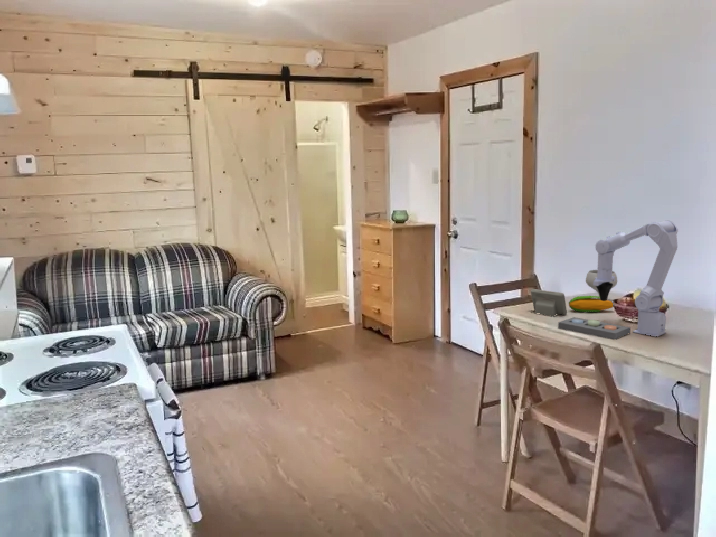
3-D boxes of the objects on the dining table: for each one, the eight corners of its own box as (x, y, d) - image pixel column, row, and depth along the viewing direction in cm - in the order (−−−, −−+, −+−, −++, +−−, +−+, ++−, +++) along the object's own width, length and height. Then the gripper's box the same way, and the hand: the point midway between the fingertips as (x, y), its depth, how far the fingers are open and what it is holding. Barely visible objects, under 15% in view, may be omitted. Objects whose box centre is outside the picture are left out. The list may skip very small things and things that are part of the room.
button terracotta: (618, 332, 242) (618, 326, 242) (612, 334, 239) (613, 328, 239) (607, 330, 245) (607, 324, 245) (602, 332, 243) (602, 326, 242)
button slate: (585, 326, 253) (585, 320, 252) (579, 328, 250) (579, 322, 249) (575, 324, 256) (575, 318, 255) (569, 326, 253) (569, 320, 253)
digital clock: (569, 315, 273) (570, 291, 272) (555, 318, 268) (556, 294, 267) (540, 309, 287) (540, 286, 285) (526, 311, 282) (527, 288, 280)
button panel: (630, 333, 243) (630, 327, 242) (615, 339, 235) (615, 333, 234) (573, 322, 260) (574, 317, 260) (558, 328, 253) (558, 322, 252)
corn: (567, 293, 283) (612, 293, 280) (566, 309, 284) (611, 309, 282) (571, 297, 275) (617, 297, 273) (570, 314, 277) (616, 314, 275)
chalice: (613, 307, 287) (614, 275, 284) (581, 304, 294) (583, 272, 292) (618, 301, 299) (620, 270, 296) (588, 298, 306) (589, 268, 303)
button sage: (601, 327, 247) (601, 321, 247) (595, 329, 244) (596, 323, 244) (591, 325, 250) (591, 319, 250) (585, 327, 248) (585, 321, 247)
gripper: (604, 265, 264) (603, 296, 266) (586, 269, 255) (585, 301, 257) (620, 266, 259) (619, 298, 261) (603, 271, 250) (601, 304, 252)
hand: (603, 300), depth 259 cm, fingers closed
